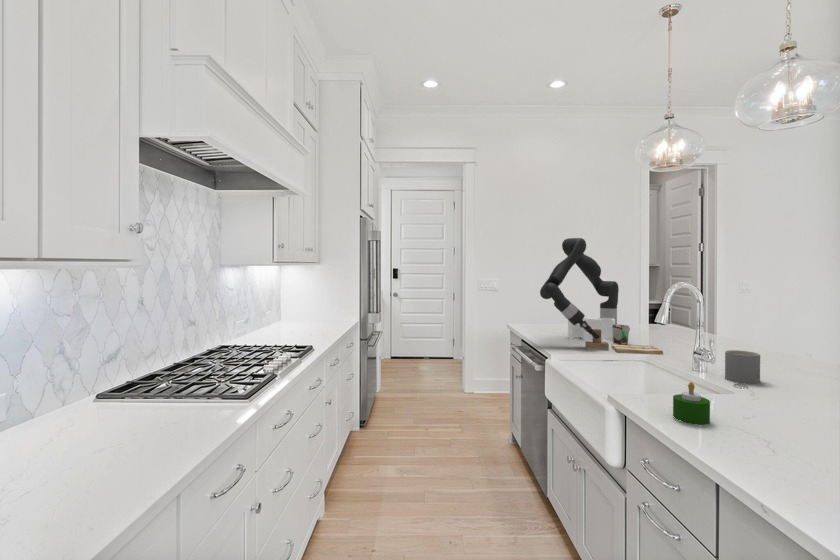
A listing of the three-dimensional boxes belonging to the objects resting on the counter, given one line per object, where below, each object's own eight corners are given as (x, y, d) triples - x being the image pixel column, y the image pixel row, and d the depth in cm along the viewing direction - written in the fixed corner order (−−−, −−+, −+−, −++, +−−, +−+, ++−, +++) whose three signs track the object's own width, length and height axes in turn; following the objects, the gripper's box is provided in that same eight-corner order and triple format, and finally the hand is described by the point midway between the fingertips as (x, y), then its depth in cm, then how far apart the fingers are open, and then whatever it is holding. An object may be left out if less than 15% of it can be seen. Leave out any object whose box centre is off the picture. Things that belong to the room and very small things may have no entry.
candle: (675, 411, 117) (675, 376, 117) (711, 418, 112) (711, 381, 112) (670, 420, 111) (670, 382, 110) (708, 427, 105) (708, 388, 105)
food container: (634, 346, 216) (634, 327, 216) (622, 346, 217) (622, 327, 216) (623, 342, 229) (623, 324, 229) (612, 342, 229) (612, 324, 229)
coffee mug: (763, 385, 142) (763, 356, 142) (727, 382, 147) (727, 354, 147) (754, 376, 154) (754, 349, 154) (721, 373, 159) (721, 347, 159)
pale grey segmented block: (613, 339, 240) (613, 318, 240) (616, 341, 231) (616, 320, 230) (567, 337, 247) (567, 317, 247) (568, 339, 238) (568, 318, 238)
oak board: (611, 347, 214) (611, 344, 214) (654, 348, 209) (654, 345, 209) (617, 352, 200) (617, 349, 200) (663, 354, 195) (663, 351, 195)
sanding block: (585, 348, 213) (585, 328, 213) (606, 348, 211) (606, 329, 211) (587, 350, 207) (587, 330, 207) (608, 351, 205) (608, 330, 205)
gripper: (579, 310, 204) (605, 334, 201) (576, 307, 218) (599, 329, 215) (568, 320, 205) (593, 344, 203) (565, 317, 219) (589, 339, 217)
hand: (596, 336), depth 209 cm, fingers open, 8 cm apart
